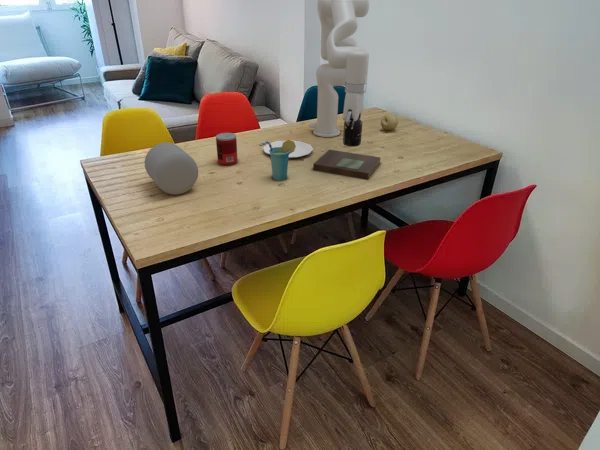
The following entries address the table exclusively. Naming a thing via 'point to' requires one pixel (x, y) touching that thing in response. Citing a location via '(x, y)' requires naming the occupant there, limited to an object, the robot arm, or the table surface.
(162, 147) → the grey rounded cylinder
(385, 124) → the fruit
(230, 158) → the canned food
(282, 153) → the cup
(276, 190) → the table surface
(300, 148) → the plate
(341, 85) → the robot arm
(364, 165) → the walnut board
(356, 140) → the supplement bottle
